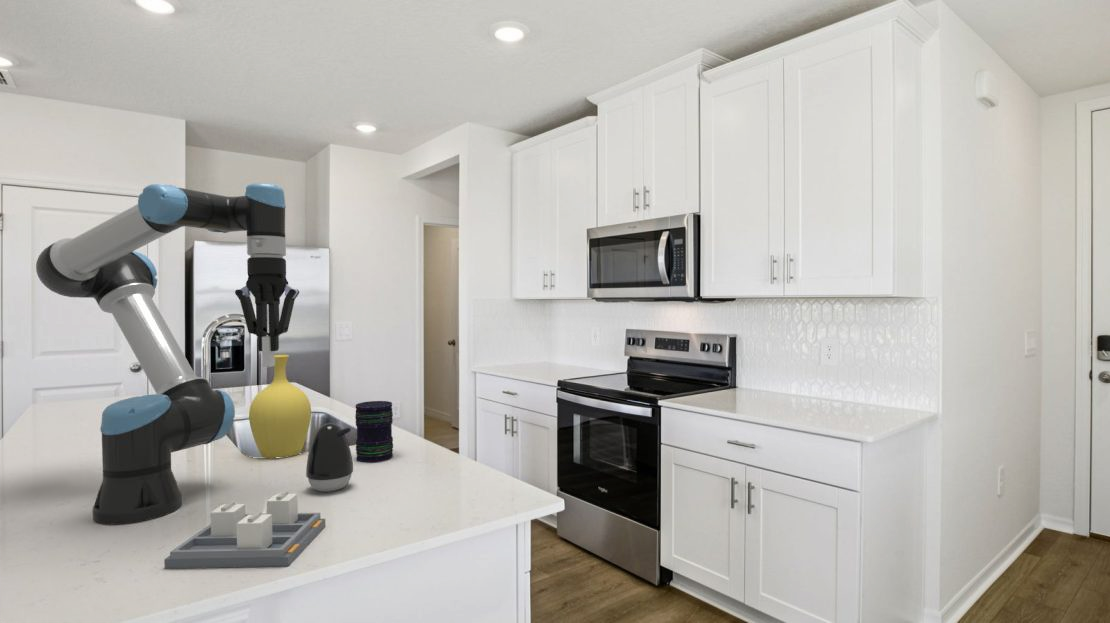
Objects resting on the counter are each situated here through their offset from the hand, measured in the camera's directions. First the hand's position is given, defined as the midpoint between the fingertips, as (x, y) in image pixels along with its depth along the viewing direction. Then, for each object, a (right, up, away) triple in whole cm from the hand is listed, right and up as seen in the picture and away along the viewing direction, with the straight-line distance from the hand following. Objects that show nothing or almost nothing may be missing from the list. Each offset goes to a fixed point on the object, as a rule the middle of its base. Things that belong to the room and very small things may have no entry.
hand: (268, 366), depth 128 cm
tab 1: (+4, -28, -23) cm, 36 cm away
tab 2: (+11, -28, -28) cm, 41 cm away
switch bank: (+8, -30, -23) cm, 38 cm away
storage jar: (+12, -29, +35) cm, 47 cm away
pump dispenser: (+10, -29, +9) cm, 32 cm away
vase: (-16, -29, +40) cm, 52 cm away
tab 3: (+11, -28, -17) cm, 35 cm away
